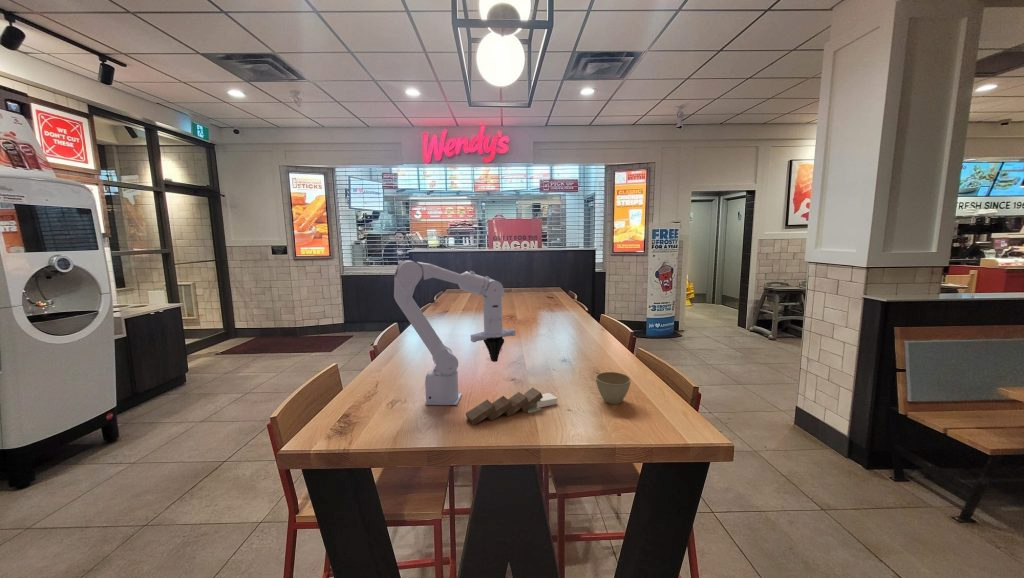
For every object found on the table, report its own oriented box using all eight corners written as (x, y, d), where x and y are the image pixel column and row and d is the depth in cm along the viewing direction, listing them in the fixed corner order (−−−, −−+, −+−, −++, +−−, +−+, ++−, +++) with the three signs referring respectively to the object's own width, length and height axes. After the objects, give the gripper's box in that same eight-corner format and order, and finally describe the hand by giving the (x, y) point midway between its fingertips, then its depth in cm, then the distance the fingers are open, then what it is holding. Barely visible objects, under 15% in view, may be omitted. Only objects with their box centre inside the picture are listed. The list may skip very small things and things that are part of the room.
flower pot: (589, 401, 115) (589, 378, 114) (606, 391, 122) (606, 369, 121) (620, 411, 108) (620, 386, 107) (636, 400, 116) (636, 377, 115)
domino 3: (506, 411, 106) (526, 397, 108) (499, 405, 109) (518, 391, 112) (508, 416, 106) (528, 402, 109) (501, 410, 110) (520, 396, 113)
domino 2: (489, 415, 103) (510, 401, 106) (482, 409, 107) (503, 395, 110) (491, 421, 104) (512, 406, 107) (484, 414, 108) (505, 400, 110)
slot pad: (529, 413, 108) (529, 412, 108) (517, 404, 114) (517, 403, 114) (541, 409, 110) (541, 408, 110) (529, 401, 115) (529, 400, 115)
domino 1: (471, 419, 101) (494, 405, 104) (465, 413, 105) (487, 399, 108) (474, 425, 101) (496, 410, 104) (467, 418, 105) (489, 404, 108)
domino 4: (521, 407, 108) (540, 392, 110) (514, 402, 112) (532, 387, 114) (524, 412, 108) (543, 397, 111) (516, 406, 112) (534, 392, 115)
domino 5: (537, 402, 110) (557, 398, 114) (529, 396, 114) (548, 392, 117) (537, 408, 110) (557, 403, 114) (529, 402, 114) (548, 398, 118)
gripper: (476, 323, 113) (477, 368, 114) (519, 317, 119) (520, 360, 121) (467, 319, 119) (469, 362, 121) (509, 314, 126) (510, 354, 127)
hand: (494, 360), depth 121 cm, fingers closed
